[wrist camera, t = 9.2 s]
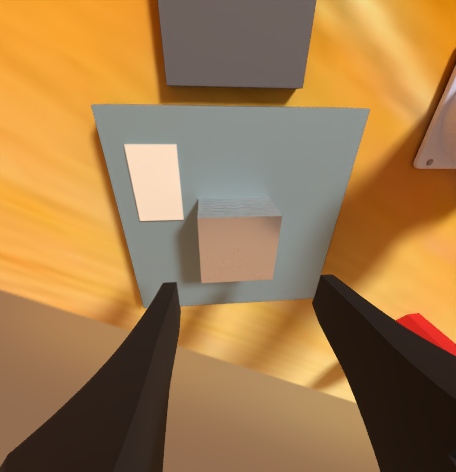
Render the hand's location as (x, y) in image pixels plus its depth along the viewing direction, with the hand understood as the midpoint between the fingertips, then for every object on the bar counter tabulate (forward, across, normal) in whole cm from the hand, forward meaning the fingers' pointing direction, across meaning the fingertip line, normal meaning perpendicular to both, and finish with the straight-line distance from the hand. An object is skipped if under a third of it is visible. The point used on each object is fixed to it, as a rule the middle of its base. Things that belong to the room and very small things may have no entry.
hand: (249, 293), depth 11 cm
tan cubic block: (+9, 0, 0) cm, 9 cm away
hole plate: (+9, 0, 0) cm, 9 cm away
